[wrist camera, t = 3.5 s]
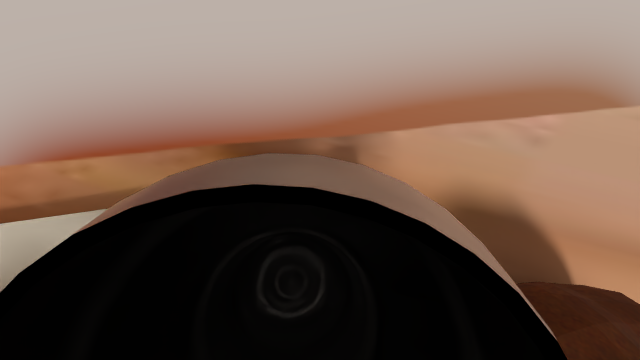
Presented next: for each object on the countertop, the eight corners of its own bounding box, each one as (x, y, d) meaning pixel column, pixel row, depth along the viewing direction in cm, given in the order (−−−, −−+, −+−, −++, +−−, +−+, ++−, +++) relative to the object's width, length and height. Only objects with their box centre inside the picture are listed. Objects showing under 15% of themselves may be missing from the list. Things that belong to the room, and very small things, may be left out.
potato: (610, 379, 18) (850, 475, 10) (451, 427, 16) (591, 584, 8) (562, 261, 19) (733, 266, 12) (416, 294, 18) (505, 325, 10)
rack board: (178, 388, 15) (168, 399, 14) (-40, 438, 14) (-70, 454, 13) (173, 203, 18) (165, 200, 17) (-10, 230, 17) (-33, 228, 16)
